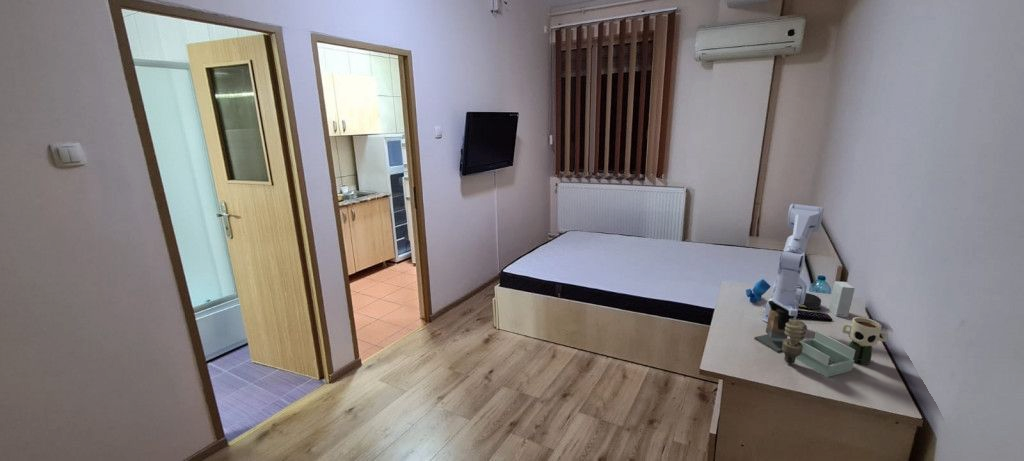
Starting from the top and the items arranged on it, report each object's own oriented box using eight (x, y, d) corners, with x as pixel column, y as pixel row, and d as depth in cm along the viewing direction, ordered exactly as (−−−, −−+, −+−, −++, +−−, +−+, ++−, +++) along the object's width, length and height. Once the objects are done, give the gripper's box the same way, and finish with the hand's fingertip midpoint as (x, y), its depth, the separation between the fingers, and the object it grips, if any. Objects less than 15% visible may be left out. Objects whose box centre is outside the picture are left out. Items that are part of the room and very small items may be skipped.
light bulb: (799, 371, 129) (808, 326, 125) (778, 365, 132) (786, 321, 128) (798, 361, 134) (808, 318, 129) (778, 356, 136) (786, 314, 132)
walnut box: (765, 331, 146) (769, 310, 143) (781, 332, 145) (785, 311, 143) (770, 337, 142) (774, 315, 140) (787, 338, 141) (791, 316, 139)
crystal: (742, 286, 172) (753, 272, 179) (741, 304, 176) (752, 290, 183) (763, 292, 167) (773, 277, 174) (761, 310, 170) (771, 295, 177)
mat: (754, 338, 147) (754, 337, 147) (774, 334, 150) (774, 332, 150) (777, 352, 139) (777, 350, 139) (798, 347, 142) (798, 345, 141)
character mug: (836, 359, 135) (845, 322, 131) (835, 349, 140) (843, 313, 137) (881, 370, 129) (892, 332, 125) (878, 359, 135) (888, 322, 131)
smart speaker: (788, 300, 176) (790, 291, 175) (811, 301, 175) (813, 292, 174) (800, 310, 167) (802, 300, 166) (824, 311, 166) (826, 301, 165)
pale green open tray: (785, 353, 138) (789, 335, 136) (811, 347, 141) (815, 329, 140) (826, 377, 126) (830, 357, 124) (852, 370, 129) (857, 351, 128)
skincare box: (848, 317, 161) (855, 288, 158) (835, 316, 162) (842, 287, 159) (840, 310, 167) (846, 281, 164) (827, 309, 168) (834, 280, 164)
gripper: (811, 298, 131) (803, 337, 135) (789, 279, 145) (782, 316, 149) (786, 296, 132) (778, 336, 136) (766, 278, 146) (760, 315, 150)
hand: (779, 325), depth 142 cm, fingers closed on walnut box, 4 cm apart
